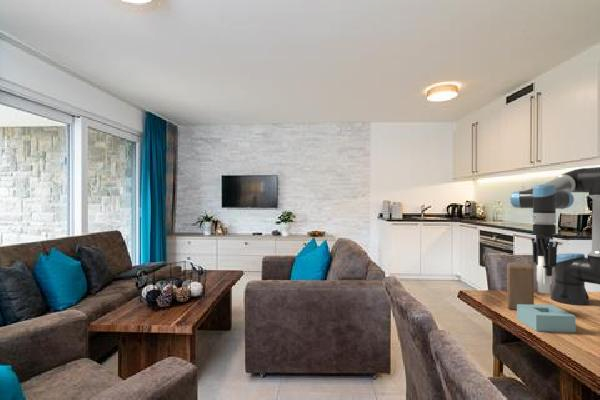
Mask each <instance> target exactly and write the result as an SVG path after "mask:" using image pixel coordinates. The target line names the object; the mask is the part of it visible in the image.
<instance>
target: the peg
mask: <svg viewBox="0 0 600 400" xmlns="http://www.w3.org/2000/svg"><path fill="white" fill-rule="evenodd" d="M543 266H545V262H544V256H538V281H537V292H538V293H541V294H551V284H543Z"/></svg>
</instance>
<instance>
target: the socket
mask: <svg viewBox="0 0 600 400" xmlns="http://www.w3.org/2000/svg"><path fill="white" fill-rule="evenodd" d="M516 320H518V321H519V322H521V323H523V324H525V325H526V326H528V327H529V328H531V329H532V330H534V331H535V332H555V333H556V332H561V333H576V332H577V331H576V330H577V329H576V327H577V326H576V325H577V324H576V320H577V319H576V316H575V315H574V314H572V313H570V312H567V311H565V310H564V309H562V308H560V307H557V306H555V305H553V304H534V305H526V304H517V310H516Z"/></svg>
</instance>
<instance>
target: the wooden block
mask: <svg viewBox="0 0 600 400" xmlns="http://www.w3.org/2000/svg"><path fill="white" fill-rule="evenodd" d="M506 267H507V268H506V270H507V272H506V273H507V275H506V277H507V278H506V279H507V282H506V283H507V287H506V288H507V290H506V291H507V308H508V309H509V310H512V311H513V310H515V311H517V304H526V305H535V299H534V298H535V297H534V296H535V293H534V292H535V288H534V287H535V285H534V281H535V280H534V279H535V278H534V276H535V273H534V265H533V264H531V263H524V262H523V263H522V262H521V263H520V262H508V264H507V266H506Z"/></svg>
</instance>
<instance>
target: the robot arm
mask: <svg viewBox="0 0 600 400" xmlns="http://www.w3.org/2000/svg"><path fill="white" fill-rule="evenodd" d="M572 193H588V197H589V198H590V199H592V215H591V216H592V220H591V221H592V224H591V229H592V230H591V251H589V252H588V253H587V256H586V255H585V253H576V252H575V253H573V252H571V253H558V245H559V242H558V241H555V240H554V238H553V235H555V234H556V232H557V231H556V230H557V228H556V227H557V226H556V223H557V213H556V210H557V209H558V210H561V209H562V210H563V209H567V208H570V207H571V206H573V204H574V201H575V197H574V195H573V194H572ZM509 197H510V198H509V200H510V204H511V206H512V207H513V208H516V209H518V208H519V209H532V223H533V224H532V233H533V234H536V235H535V237H532V238H531V244H532V262H533V263H535V265H536V282H538V256H544V262H545V266H543V284H550V285H552V284H553V268H554V285H553V287H552V290H551V291H550V299H551V300H552V301H555V302H558V303H563V304H568V305H577V306H584V305H590V297H589V294H588V292H587V289H586V286H585V283H588V284H593V285H594V284H595V285H600V166H597V167H586V168H585V167H582V168H577V169H573V170H570V171H567V172H564V173H561V174H559V175H557V176H555V177H554V179H552V180H550V181H547V182H545V183H541V184H537V185H534V186H533V187H532V188H529V189H526V190H517V191H512V192H511V194H510V196H509Z"/></svg>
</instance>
